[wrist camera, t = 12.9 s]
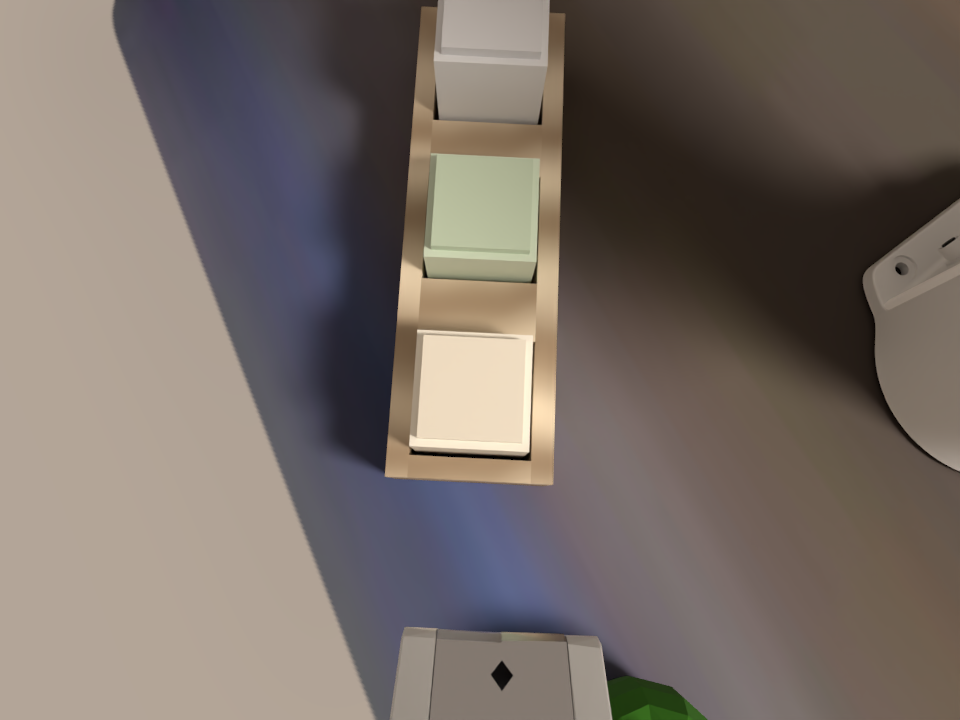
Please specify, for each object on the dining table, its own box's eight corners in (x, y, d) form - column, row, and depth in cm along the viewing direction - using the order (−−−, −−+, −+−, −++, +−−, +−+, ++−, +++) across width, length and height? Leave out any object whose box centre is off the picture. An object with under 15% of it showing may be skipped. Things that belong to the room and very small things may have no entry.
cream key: (520, 459, 39) (530, 451, 32) (419, 454, 39) (407, 445, 32) (523, 360, 40) (534, 332, 33) (426, 355, 40) (416, 326, 33)
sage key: (526, 298, 41) (537, 258, 34) (431, 293, 41) (422, 252, 34) (530, 209, 42) (541, 153, 35) (437, 205, 42) (430, 147, 35)
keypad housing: (543, 486, 40) (553, 484, 35) (395, 478, 40) (384, 476, 35) (555, 65, 45) (565, 13, 41) (427, 59, 45) (421, 6, 41)
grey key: (535, 133, 40) (548, 59, 34) (440, 129, 41) (433, 53, 34) (538, 49, 42) (551, -40, 35) (445, 44, 42) (440, -46, 35)
